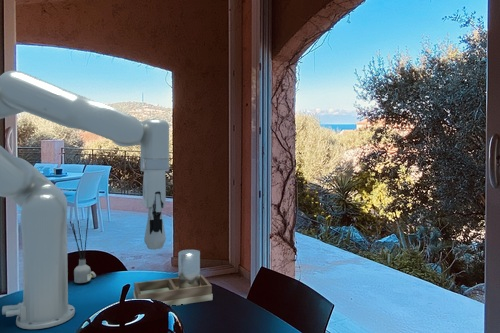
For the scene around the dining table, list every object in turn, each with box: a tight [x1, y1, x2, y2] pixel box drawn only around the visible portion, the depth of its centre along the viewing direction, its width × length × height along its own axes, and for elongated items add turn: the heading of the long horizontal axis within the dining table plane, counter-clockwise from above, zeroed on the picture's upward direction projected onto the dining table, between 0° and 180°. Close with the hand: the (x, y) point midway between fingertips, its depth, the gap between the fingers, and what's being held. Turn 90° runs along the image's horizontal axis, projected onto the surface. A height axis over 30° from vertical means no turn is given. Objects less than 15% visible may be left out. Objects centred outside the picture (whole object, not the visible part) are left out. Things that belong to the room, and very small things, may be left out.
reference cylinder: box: [177, 249, 201, 289], centre depth 106 cm, size 6×6×11 cm
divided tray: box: [132, 273, 214, 307], centre depth 104 cm, size 20×11×4 cm, turn 113°
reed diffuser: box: [69, 218, 97, 284], centre depth 117 cm, size 10×7×20 cm
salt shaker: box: [143, 203, 167, 250], centre depth 102 cm, size 6×6×13 cm
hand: (154, 232), depth 102 cm, fingers closed on salt shaker, 3 cm apart
